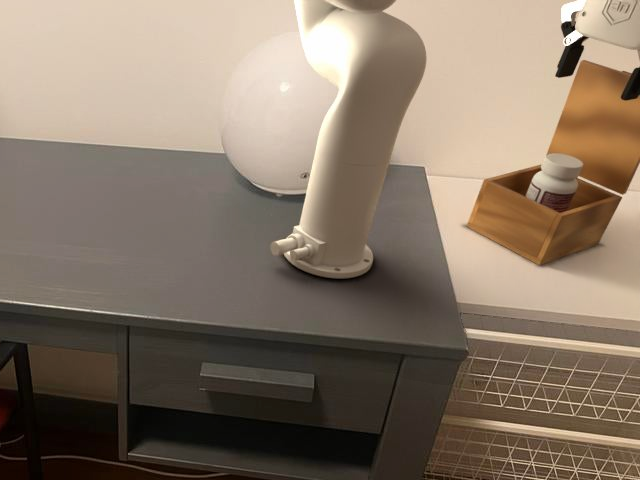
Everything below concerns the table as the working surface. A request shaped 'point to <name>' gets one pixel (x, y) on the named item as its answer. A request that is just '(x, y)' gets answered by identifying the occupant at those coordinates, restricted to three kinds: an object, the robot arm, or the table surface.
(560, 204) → the pill bottle
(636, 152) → the lid
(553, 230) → the chest
